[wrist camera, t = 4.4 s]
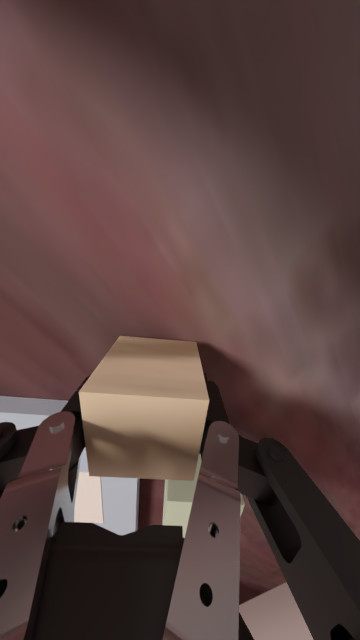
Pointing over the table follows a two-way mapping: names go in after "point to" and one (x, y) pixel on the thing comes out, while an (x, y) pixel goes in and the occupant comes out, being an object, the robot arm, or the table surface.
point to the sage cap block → (182, 500)
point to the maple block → (145, 410)
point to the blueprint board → (82, 473)
